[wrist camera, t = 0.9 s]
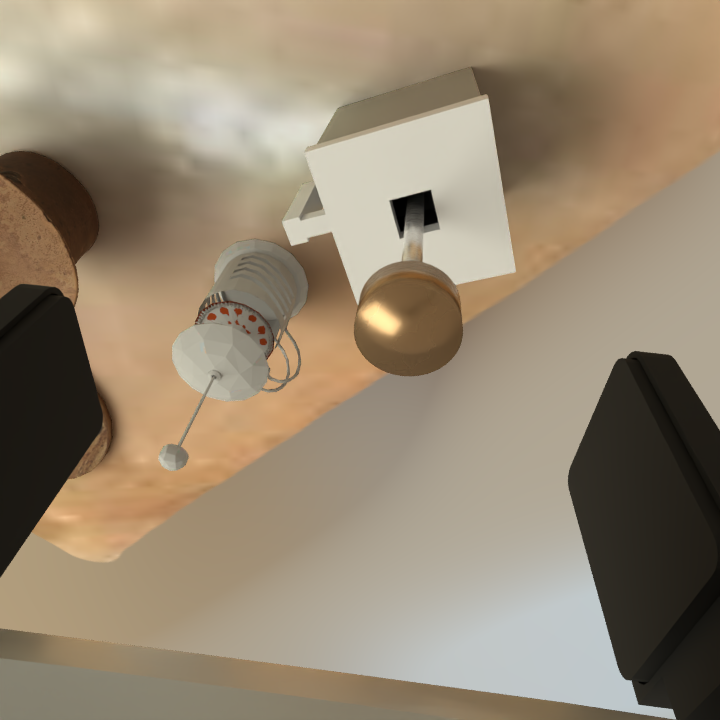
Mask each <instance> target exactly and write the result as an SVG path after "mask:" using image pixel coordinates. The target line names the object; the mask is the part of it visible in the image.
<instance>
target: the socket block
mask: <svg viewBox="0 0 720 720" xmlns="http://www.w3.org/2000/svg"><path fill="white" fill-rule="evenodd" d="M304 154H305V157H306V160H307V163H308V165H309V168H310V171H311V174H312V177H313V180H314V181H311V182H307V183H304V184H302V185H301V187H300V189H299V191H298V193H297V195H296V196H295V198H294V200H293V202H292V204H291V206H290V207H289V209H288V211H287V213H286V215H285V217H284V218H283V220H282V224H283V226H284V229H285V231H286V234H287V236H288V239H289V241H290V244H291V246H293V245H297V244H301V243H305V242H309V239H310V237H313V236H317V235H321V234H325V233H329V232H332V234H333V237H334V239H335V242H336V245H337V248H338V251H339V254H340V256H341V259H342V262H343V265H344V268H345V271H346V274H347V276H348V279H349V282H350V285H351V288H352V291H353V293H354V296H355V299H356V302H357V305H358V304H359V299H360V294H361V291H362V289H363V287H364V285H365V283H366V282H367V280H368V279H369V278H370V277H371V276H372V275H373V274H374V273H375V272H376V271H378V270H379V269H381V268H383V267H384V266H387V265H389V264H392V263H396V262H401V261H402V250H403V240H404V229H405V218H406V208H407V197H408V195H412V194H416V193H420V192H424V231H423V262H424V263H427V264H430V265H432V266H434V267H437V268H438V269H440V270H441V271H443V272H444V273H445V274H446V275H448V276H449V278H450V279H451V280H452V281H453V283H454V284H455V285H457V284H462V283H467V282H471V281H476V280H481V279H485V278H490V277H495V276H500V275H504V274H509V273H514V272H516V269H515V263H514V257H513V250H512V244H511V238H510V231H509V225H508V219H507V213H506V206H505V200H504V194H503V187H502V181H501V175H500V168H499V162H498V156H497V149H496V143H495V137H494V130H493V124H492V118H491V112H490V105H489V99H488V96H487V94H485V95H482V96H481V95H480V92H479V89H478V86H477V83H476V80H475V77H474V74H473V71H472V68H471V67H468V68H465V69H462V70H459V71H456V72H452V73H449V74H446V75H443V76H440V77H436V78H433V79H430V80H427V81H424V82H420V83H417V84H414V85H411V86H407V87H404V88H401V89H398V90H395V91H391V92H388V93H385V94H382V95H379V96H375V97H372V98H369V99H366V100H363V101H359V102H356V103H353V104H350V105H346V106H343V107H340V108H338V109H337V110H336V112H335V114H334V116H333V117H332V119H331V121H330V123H329V124H328V126H327V128H326V129H325V131H324V133H323V135H322V136H321V138H320V140H319V141H318V143H317V144H316V145H313V146H310V147H307V149H306V150H305V152H304ZM322 208H324V209H323V210H322Z"/></svg>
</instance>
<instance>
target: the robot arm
mask: <svg viewBox="0 0 720 720" xmlns="http://www.w3.org/2000/svg"><path fill="white" fill-rule="evenodd" d="M102 423H103V412H102V408H101V405H100V401H99V397H98V394H97V390H96V386H95V383H94V379H93V375H92V371H91V368H90V364H89V360H88V357H87V353H86V349H85V346H84V342H83V338H82V335H81V331H80V327H79V324H78V320H77V316H76V313H75V309H74V305H73V303H72V301H71V300H70V298H68V297H65V296H64V295H63V293H62V292H61V290H60V289H58V288H56V287H50V286H41V285H32V284H19V285H17V286H15V287H14V288H13V289H11V290H10V291H9V292H8V293H6V294H5V295H4V296H3V297H1V298H0V577H1V576H2V574H3V573H4V571H5V570H6V568H7V567H8V565H9V564H10V563H11V561H12V560H13V558H14V557H15V555H16V554H17V552H18V551H19V549H20V548H21V546H22V545H23V543H24V542H25V540H26V539H27V537H28V536H29V535H30V533H31V532H32V530H33V529H34V527H35V526H36V524H37V523H38V522H39V520H40V519H41V517H42V516H43V514H44V513H45V511H46V510H47V508H48V507H49V505H50V504H51V503H52V501H53V500H54V498H55V497H56V495H57V494H58V492H59V491H60V489H61V488H62V486H63V485H64V483H65V482H66V481H67V479H68V478H69V476H70V475H71V473H72V472H73V470H74V469H75V467H76V466H77V464H78V463H79V462H80V460H81V459H82V457H83V456H84V454H85V453H86V451H87V450H88V448H89V447H90V445H91V444H92V443H93V441H94V440H95V438H96V437H97V435H98V434H99V432H100V430H101V427H102ZM568 486H569V491H570V495H571V498H572V501H573V506H574V509H575V513H576V516H577V520H578V524H579V527H580V531H581V534H582V538H583V542H584V545H585V549H586V553H587V555H588V560H589V564H590V567H591V571H592V574H593V578H594V582H595V585H596V589H597V592H598V596H599V600H600V603H601V607H602V611H603V614H604V618H605V621H606V625H607V629H608V632H609V636H610V640H611V643H612V647H613V650H614V654H615V657H616V661H617V665H618V668H619V670H620V673H621V675H622V676H623V677H624V678H625V679H626V680H632V684H633V687H634V691H635V694H636V698H637V701H638V704H639V705H646V706H653V707H661V708H669V709H673V711H674V714H675V717H676V720H720V430H719V429H718V427H717V425H716V424H715V422H714V421H713V419H712V418H711V416H710V414H709V413H708V411H707V410H706V408H705V406H704V405H703V403H702V402H701V400H700V399H699V397H698V395H697V394H696V392H695V391H694V389H693V388H692V386H691V384H690V383H689V381H688V379H687V378H686V376H685V375H684V373H683V372H682V370H681V368H680V367H679V365H678V364H677V362H676V360H675V359H674V358H673V357H672V356H670V355H666V354H657V353H647V352H639V351H634V352H631V353H630V354H629V355H628V356H627V358H626V359H623V358H621V359H618V360H617V362H616V363H615V365H614V367H613V369H612V371H611V374H610V376H609V378H608V381H607V383H606V385H605V388H604V390H603V392H602V395H601V397H600V399H599V402H598V404H597V406H596V409H595V411H594V413H593V415H592V418H591V420H590V422H589V425H588V427H587V429H586V432H585V435H584V436H583V439H582V441H581V443H580V446H579V448H578V451H577V453H576V456H575V457H574V460H573V462H572V465H571V467H570V470H569V475H568ZM0 720H673V719H667V718H661V717H654V716H647V715H640V714H635V713H628V712H622V711H615V710H609V709H602V708H596V707H589V706H583V705H576V704H570V703H563V702H556V701H548V700H540V699H534V698H526V697H518V696H511V695H503V694H496V693H489V692H481V691H475V690H467V689H459V688H452V687H445V686H438V685H430V684H423V683H416V682H408V681H401V680H394V679H386V678H379V677H371V676H363V675H357V674H349V673H341V672H334V671H326V670H318V669H311V668H303V667H295V666H288V665H280V664H273V663H265V662H257V661H250V660H242V659H235V658H226V657H219V656H212V655H204V654H195V653H189V652H181V651H173V650H165V649H157V648H150V647H142V646H135V645H127V644H118V643H111V642H103V641H94V640H87V639H79V638H71V637H63V636H55V635H47V634H39V633H31V632H23V631H15V630H7V629H0Z"/></svg>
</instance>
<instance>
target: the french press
mask: <svg viewBox="0 0 720 720" xmlns="http://www.w3.org/2000/svg"><path fill="white" fill-rule="evenodd" d="M214 282H215V284H214V286H213V287H212V289H211V290H210V292H209V294H208V295H207V297H206V298H205V300H204V301H203V303H202V305H201V306H200V308H199V312H198V317H197V319H196V321H195V325H193V326H192V327H190V328H188V329H186V330H184V331H183V332H181V333H180V334H179V336H178V337H177V339H176V341H175V342H174V344H173V346H172V361H173V363H174V365H175V367H176V369H177V371H178V373H179V375H180V377H181V378H182V379H183V380H184V381H185V382H186V383H187V384H188V385H189V386H191V387H192V388H193V389H194V390H196V391H198V392H200V393H202V394H203V396H202V398H201V400H200V402H199V404H198V406H197V408H196V410H195V412H194V414H193V416H192V418H191V420H190V422H189V424H188V426H187V428H186V430H185V432H184V434H183V436H182V438H181V440H180V442H179V444H178V445H174V444H168V445H166V446H163V448H162V450H161V452H160V454H159V461H160V463H161V465H162V467H164V468H166V469H168V470H169V471H176V470H178V469H180V468H182V467H184V466H185V465H186V463H187V460H188V453H187V452H186V451H185V450H184V449H183V448H182V447H181V445H182V443H183V441H184V439H185V437H186V435H187V433H188V431H189V429H190V427H191V425H192V423H193V421H194V419H195V417H196V415H197V413H198V411H199V409H200V407H201V405H202V403H203V401H204V399H205V397H206V396H207V397H209V398H214V399H218V400H223V401H240V400H246V399H248V398H250V397H252V396H254V395H256V394H258V393H259V392H260V390H262V391H265V392H277V391H279V390H281V389H282V388H283V387H284V386H285V385H286V384H287V382H289V381H291V380H292V379H294V378H295V377H296V376H297V375H298V374H299V370H300V366H301V357H300V351H299V348H298V346H297V344H296V342H295V340H294V339H293V337H292V336H291V335H290V333H289V332H288V330H287V325H288V322H289V319H290V318H291V317H293V316H295V315H297V314H298V312H299V311H300V310H301V308H302V307H303V305H304V304H305V303H306V299H307V293H308V282H307V279H306V275H305V272H304V269H303V267H302V266H301V265H300V264H299V262H298V261H297V260H296V259H295V257H294V256H293V255H292V254H291V253H290V252H288V251H286V250H285V249H283V248H282V247H280V246H278V245H277V244H275V243H272V242H267V241H262V240H258V239H251V240H245V241H239V242H236V243H234V244H233V245H231V246H230V247H228V248H227V249H225V250H224V251H223V252H222V253H221V255H220V257H219V259H218V261H217V263H216V264H215V280H214ZM218 292H219V293H218ZM215 293H216V298H217V301H218V302H217V303H215V299H214V294H215ZM219 294H220V297H221V299H222V300H223V302H221V300H220V297H219ZM211 295H212V304H211V305H210V296H211ZM206 302H207V304H208V307H206V308H205V304H206ZM279 329H281V333H280V336H279V339H278V341H277V339H276V337H277V334H278V331H279ZM284 331H285V332H286V334H287V335H288V337H289V338H290V339H291V341H292V342H293V344H294V346H295V348H296V350H297V353H298V357H299V359H298V367H297V370H296V373H295V374H294V376H293V377H291V378H289V375H290V369H289V361H288V358H287V355H286V353H285V351H284V349H283V348H282V346H281V345H280V344H279V343H280V340H281V337H282V335H283V332H284ZM274 341H275V342H276V343H277V344H276V346H275V348H276V347H277V345H278V347H279V348H280V350H281V351H282V353H283V355H284V357H285V359H286V363H287V376H286V379H285V380H277V379H274V378H272V377H271V376H270V375H269V372H270V368H269V366H268V363H267V361H266V360H267V359H268V357H269V356H270V355H271V353H272V352H273V348H274ZM274 350H275V349H274ZM267 377H268V379H270V380H271V381H275V382H278V383H283V384H282V385H281V386H280V387H278V388H276V389H269V390H267V389H264V388H263V386H264V385H265V383H266V382H267ZM288 378H289V379H288Z"/></svg>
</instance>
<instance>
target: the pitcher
mask: <svg viewBox="0 0 720 720" xmlns="http://www.w3.org/2000/svg"><path fill="white" fill-rule="evenodd" d="M98 226H99V224H98V217H97V213H96V209H95V206H94V204H93V202H92V200H91V198H90V196H89V194H88V193H87V191H86V190H85V189H84V187H83V186H82V185H81V184H80V182H79V181H78V180H77V179H76V178H75V177H74V176H73V175H71V174H70V173H69V172H68V171H67V170H65V169H64V168H63V167H62V166H60V165H59V164H58V163H56V162H54V161H52V160H50V159H48V158H46V157H44V156H41V155H39V154H36V153H31V152H24V151H19V152H18V151H17V152H11V153H6V154H4V155H1V156H0V298H1V297H3V296H4V295H5V294H6V293H8V292H9V291H10V290H11V289H13V288H14V287H15V286H17V285H19V284H32V285H41V286H50V287H56V288H58V289H60V290H61V292H62V293H63V295H64V296H65V297H68V298H70V300H71V301H72V303H73V305H74V307H75V304H76V301H77V297H78V290H79V288H78V276H77V269H76V266H75V264H76V263H77V261H78V260H79V259H80V258H81V257H82V256H83V254H84V253H86V252H87V251H88V250H89V249H90V248H91V246H92V245H93V243H94V242H95V240H96V237H97V235H98V229H99V228H98Z"/></svg>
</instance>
